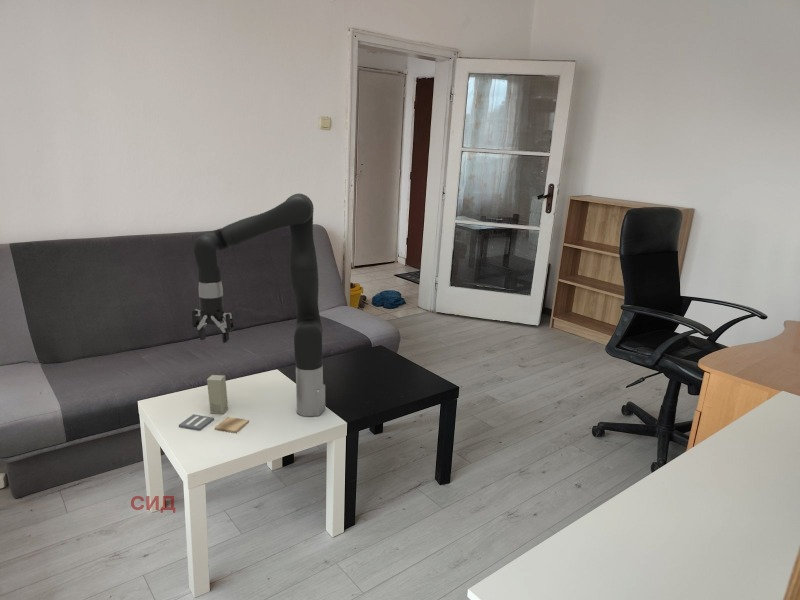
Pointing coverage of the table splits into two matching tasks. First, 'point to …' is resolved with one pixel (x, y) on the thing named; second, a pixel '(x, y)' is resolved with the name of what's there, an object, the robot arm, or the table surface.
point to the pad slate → (196, 422)
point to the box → (217, 394)
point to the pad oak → (231, 425)
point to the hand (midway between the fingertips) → (214, 340)
